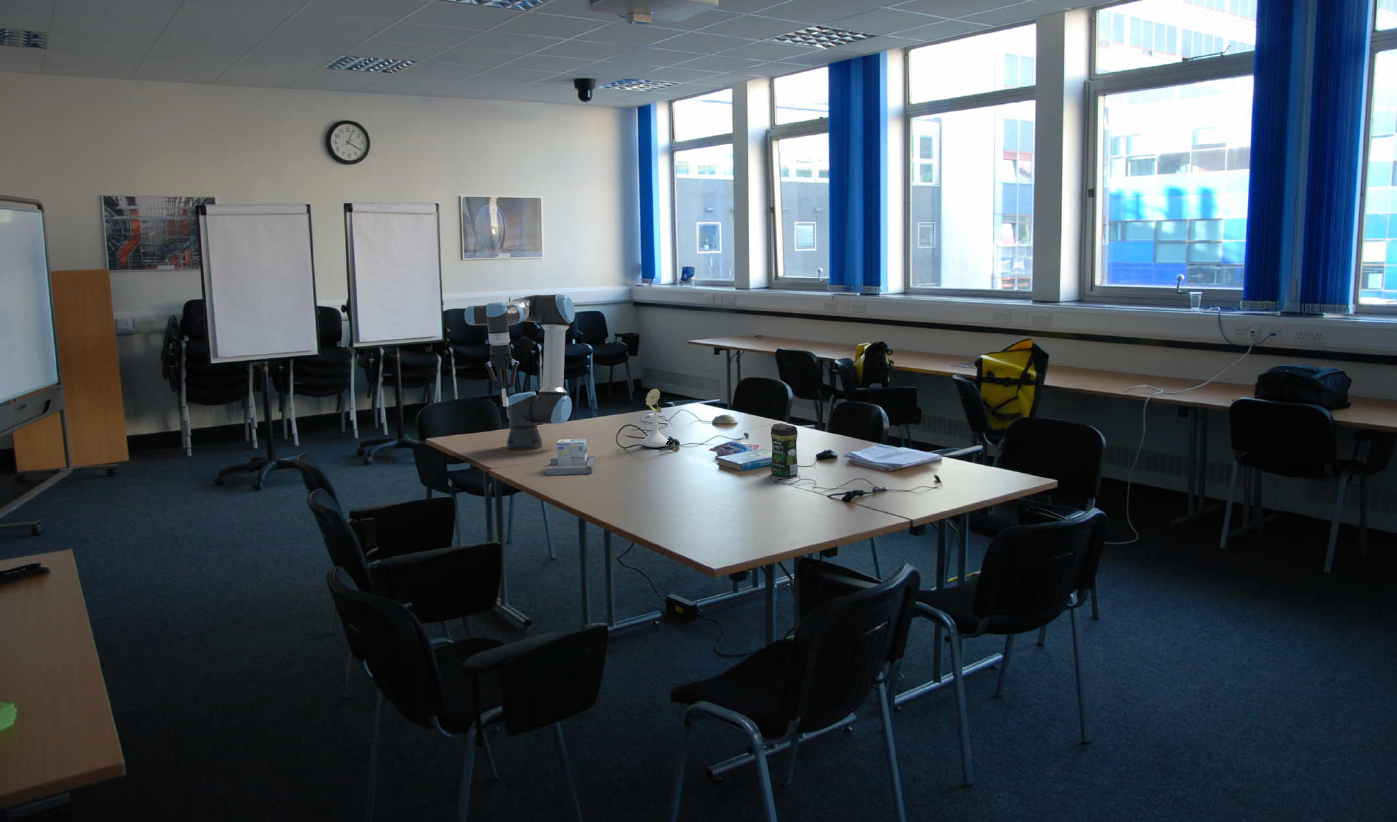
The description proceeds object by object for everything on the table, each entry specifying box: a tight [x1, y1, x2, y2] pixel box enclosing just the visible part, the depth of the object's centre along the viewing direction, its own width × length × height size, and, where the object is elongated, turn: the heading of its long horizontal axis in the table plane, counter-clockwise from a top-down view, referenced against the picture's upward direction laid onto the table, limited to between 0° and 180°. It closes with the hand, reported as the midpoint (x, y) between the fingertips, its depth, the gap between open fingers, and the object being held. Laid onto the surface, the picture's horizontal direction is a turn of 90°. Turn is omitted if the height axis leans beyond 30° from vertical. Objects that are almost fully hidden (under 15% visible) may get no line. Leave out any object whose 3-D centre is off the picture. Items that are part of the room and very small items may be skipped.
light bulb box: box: [556, 438, 588, 467], centre depth 369 cm, size 11×7×11 cm, turn 90°
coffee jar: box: [770, 422, 799, 478], centre depth 349 cm, size 10×8×19 cm
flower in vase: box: [641, 388, 669, 448], centre depth 405 cm, size 13×11×25 cm
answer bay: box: [544, 455, 596, 476], centre depth 368 cm, size 20×17×2 cm
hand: (505, 405), depth 368 cm, fingers closed
